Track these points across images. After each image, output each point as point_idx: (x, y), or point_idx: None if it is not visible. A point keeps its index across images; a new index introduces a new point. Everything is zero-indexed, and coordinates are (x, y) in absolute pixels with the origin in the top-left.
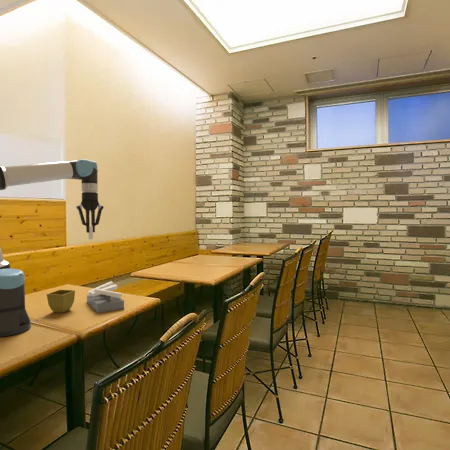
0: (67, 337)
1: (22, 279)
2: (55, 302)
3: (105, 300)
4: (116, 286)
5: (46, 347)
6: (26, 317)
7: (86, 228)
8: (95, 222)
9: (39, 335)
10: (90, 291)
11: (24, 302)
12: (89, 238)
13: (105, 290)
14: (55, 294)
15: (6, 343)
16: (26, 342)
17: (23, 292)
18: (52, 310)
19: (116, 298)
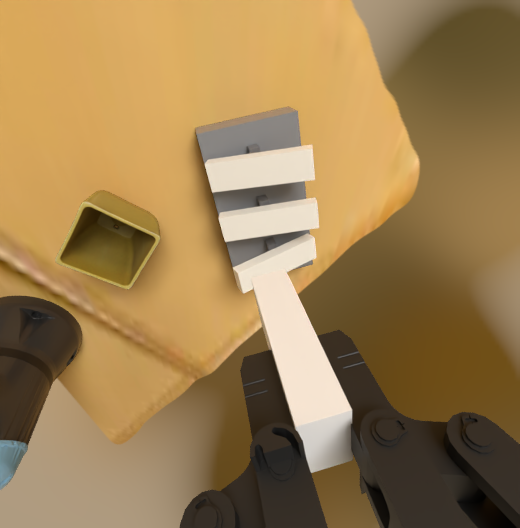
0: (181, 386)
1: (19, 460)
2: (102, 259)
3: (262, 249)
4: (314, 227)
5: (156, 412)
6: (68, 357)
7: (251, 423)
8: (469, 477)
9: (124, 372)
10: (215, 184)
11: (47, 384)
12: (260, 316)
13: (270, 263)
14: (96, 276)
15: (74, 394)
16: (112, 395)
17: (36, 415)
18: (92, 229)
19: (297, 235)
